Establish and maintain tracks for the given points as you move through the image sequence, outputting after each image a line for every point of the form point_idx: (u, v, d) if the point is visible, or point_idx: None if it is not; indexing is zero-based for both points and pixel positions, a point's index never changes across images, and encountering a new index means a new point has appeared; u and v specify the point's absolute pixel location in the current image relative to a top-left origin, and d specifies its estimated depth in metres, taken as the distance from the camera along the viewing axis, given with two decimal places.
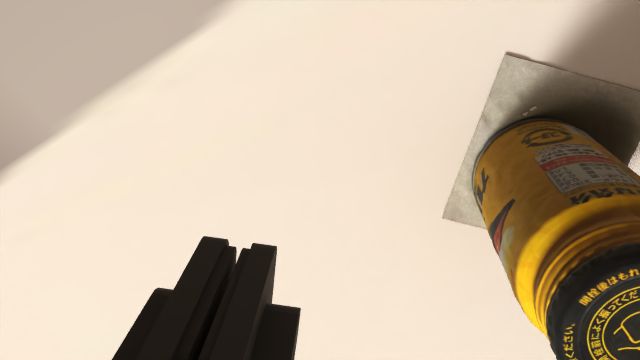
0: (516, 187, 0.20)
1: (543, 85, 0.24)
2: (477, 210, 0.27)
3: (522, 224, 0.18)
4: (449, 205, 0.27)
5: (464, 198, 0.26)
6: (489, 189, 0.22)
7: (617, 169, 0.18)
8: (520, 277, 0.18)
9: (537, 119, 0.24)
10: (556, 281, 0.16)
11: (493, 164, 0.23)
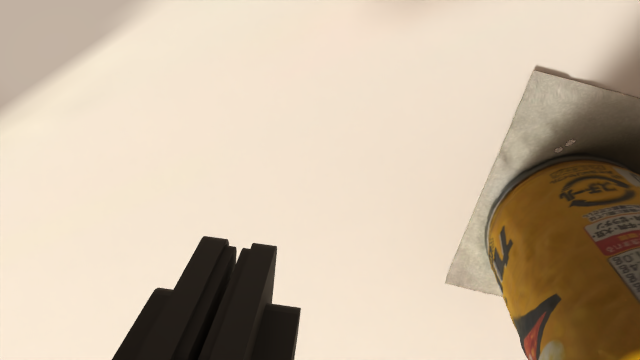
0: (560, 276, 0.13)
1: (585, 112, 0.17)
2: (491, 273, 0.20)
3: (577, 348, 0.12)
4: (454, 267, 0.20)
5: (474, 258, 0.20)
6: (515, 263, 0.16)
7: None
8: None
9: (575, 157, 0.18)
10: None
11: (519, 226, 0.16)
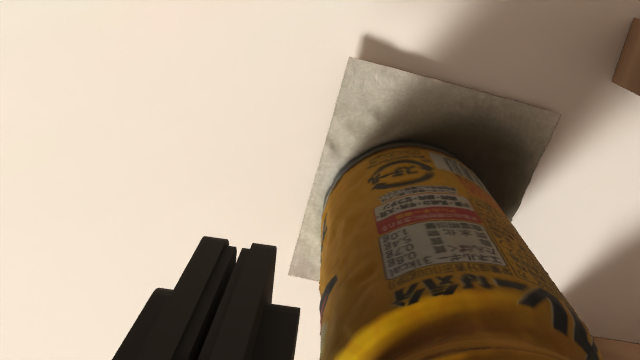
0: (342, 257, 0.13)
1: (404, 98, 0.18)
2: None
3: (333, 326, 0.12)
4: (296, 258, 0.20)
5: (315, 248, 0.20)
6: (324, 249, 0.16)
7: (479, 233, 0.12)
8: None
9: (400, 143, 0.18)
10: None
11: (332, 212, 0.16)
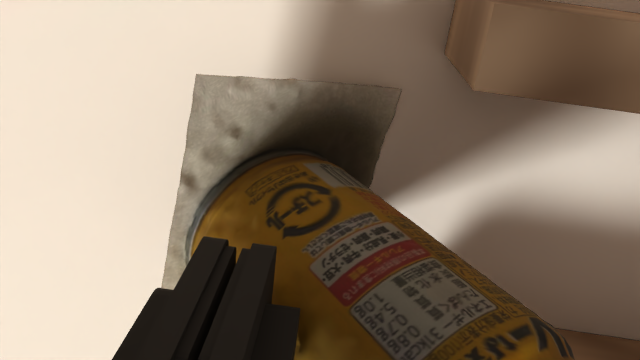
0: (304, 341, 0.11)
1: (262, 108, 0.15)
2: None
3: None
4: None
5: None
6: None
7: (443, 271, 0.12)
8: None
9: (263, 157, 0.16)
10: None
11: None
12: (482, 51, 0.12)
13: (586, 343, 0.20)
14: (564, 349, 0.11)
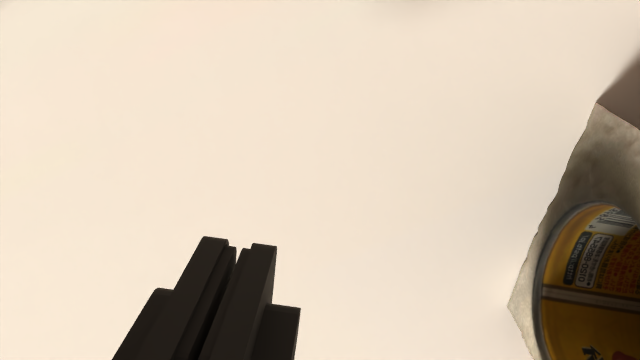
0: None
1: None
2: None
3: None
4: None
5: None
6: None
7: None
8: None
9: None
10: None
11: None
12: None
13: None
14: None
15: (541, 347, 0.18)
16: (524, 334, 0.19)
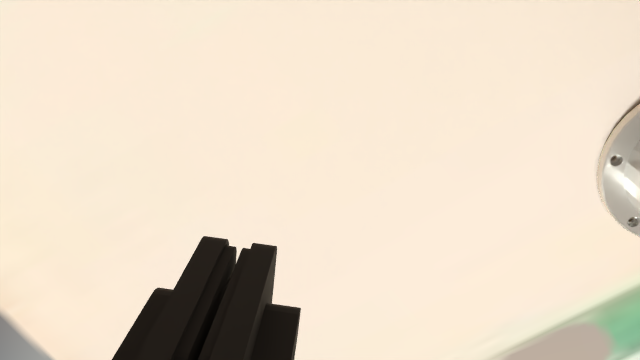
0: None
1: None
2: None
3: None
4: None
5: None
6: None
7: None
8: None
9: None
10: None
11: None
12: None
13: None
14: None
15: None
16: None
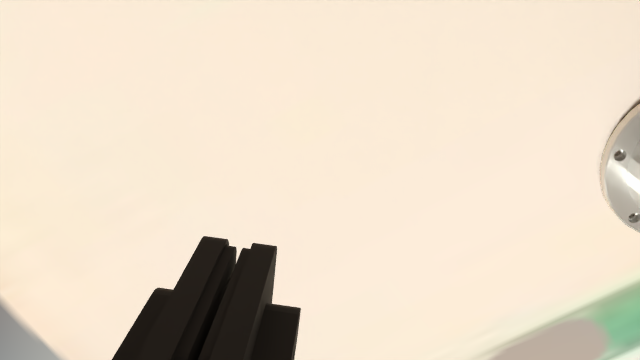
0: None
1: None
2: None
3: None
4: None
5: None
6: None
7: None
8: None
9: None
10: None
11: None
12: None
13: None
14: None
15: None
16: None
